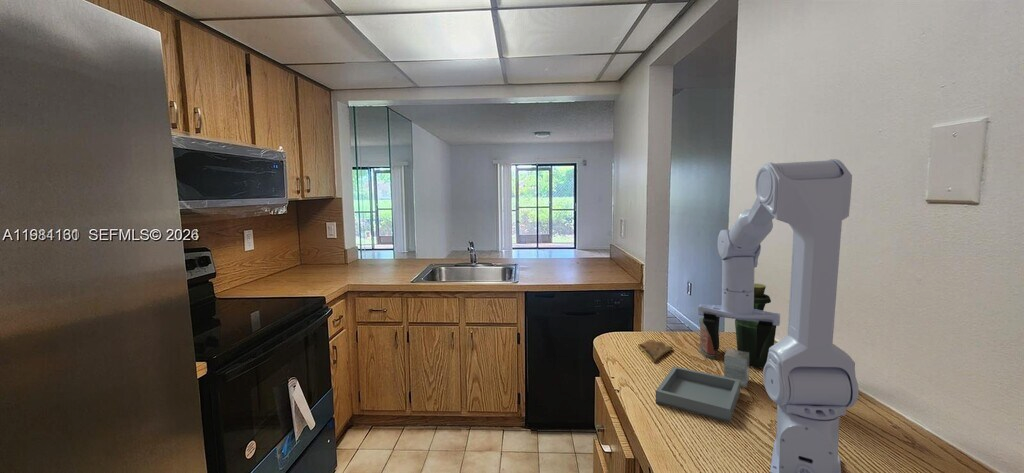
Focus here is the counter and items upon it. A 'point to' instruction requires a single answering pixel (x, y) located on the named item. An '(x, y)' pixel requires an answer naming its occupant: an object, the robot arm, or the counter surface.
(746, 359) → the aluminium block
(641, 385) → the counter surface
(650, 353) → the shard
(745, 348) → the potion bottle
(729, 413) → the tray
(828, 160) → the robot arm
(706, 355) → the lighter
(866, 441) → the counter surface
